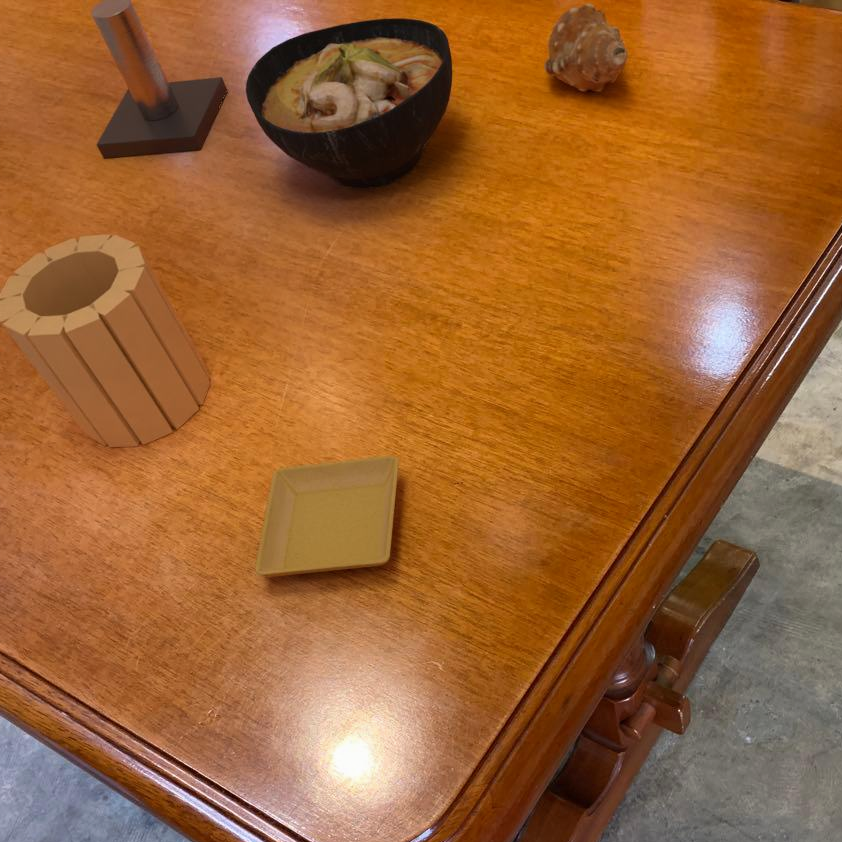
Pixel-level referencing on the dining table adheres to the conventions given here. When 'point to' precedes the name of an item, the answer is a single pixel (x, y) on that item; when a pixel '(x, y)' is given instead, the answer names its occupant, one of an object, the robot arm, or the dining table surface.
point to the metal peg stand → (151, 93)
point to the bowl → (355, 97)
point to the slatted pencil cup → (105, 339)
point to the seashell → (585, 49)
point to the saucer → (329, 517)
